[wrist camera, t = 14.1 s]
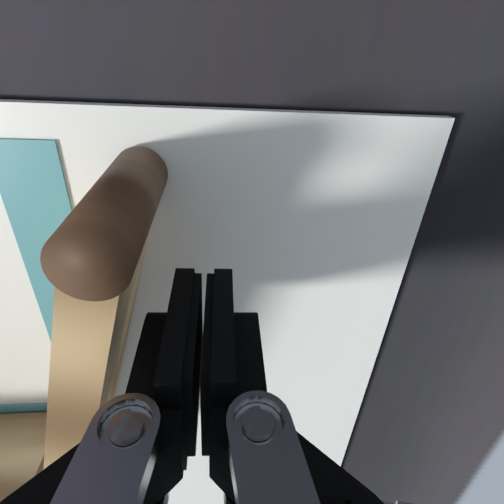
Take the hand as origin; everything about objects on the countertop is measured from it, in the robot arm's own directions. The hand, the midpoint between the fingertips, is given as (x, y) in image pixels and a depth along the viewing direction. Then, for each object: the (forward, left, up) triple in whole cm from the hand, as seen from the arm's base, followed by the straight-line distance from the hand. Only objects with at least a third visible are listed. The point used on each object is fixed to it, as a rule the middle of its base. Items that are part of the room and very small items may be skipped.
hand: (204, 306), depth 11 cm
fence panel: (-2, +3, -2) cm, 4 cm away
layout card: (-7, +4, -3) cm, 9 cm away
